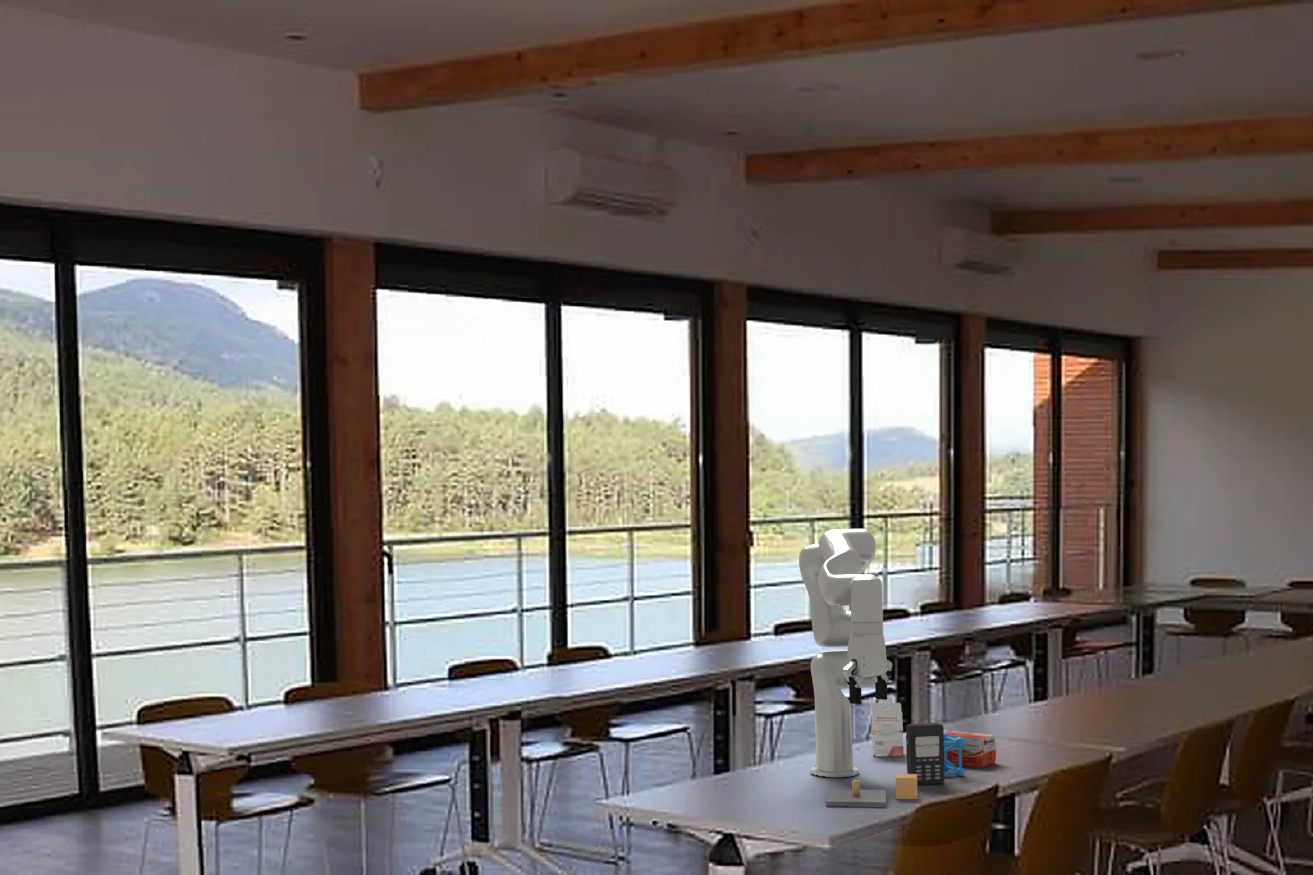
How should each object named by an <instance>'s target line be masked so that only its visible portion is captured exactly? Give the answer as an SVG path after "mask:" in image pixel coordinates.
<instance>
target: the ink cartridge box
mask: <svg viewBox="0 0 1313 875" xmlns="http://www.w3.org/2000/svg"><path fill="white" fill-rule="evenodd" d="M886 707H888V708H891V709H882V708H886ZM870 716H871V741H872V743H871V744H872V748H871V750H872V756H873V755H881V756H880V757H901V758H902V757H904V727H903V712H902V704H901V702H873V703H871V715H870Z"/></svg>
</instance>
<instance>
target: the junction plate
mask: <svg viewBox="0 0 1313 875" xmlns="http://www.w3.org/2000/svg"><path fill="white" fill-rule="evenodd" d="M851 782H852V783H851V785H852V786H851V787H852V788H849V789H837V788H834V789H832V788H828V789H827V792H826V800H825V807H826V806H848V807H847V808H887V792H886V790H887V789H861V787H860V786H861V781H860V780H859V779H854V780H852V781H851Z"/></svg>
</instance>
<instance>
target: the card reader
mask: <svg viewBox="0 0 1313 875" xmlns="http://www.w3.org/2000/svg"><path fill="white" fill-rule="evenodd" d="M944 730H945V728H944V725H943V723H940V722H920V723H919V722H917V723H909V724H906V726H905V743H906V745H905V746H906V747H905V750H906V751H905V754H906V774H917V786H921V785H922V786H923V785H937V784H938V785H939V784H940V785H941V784H942V783H944V782H945V775H944V772H945V771H944Z"/></svg>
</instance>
